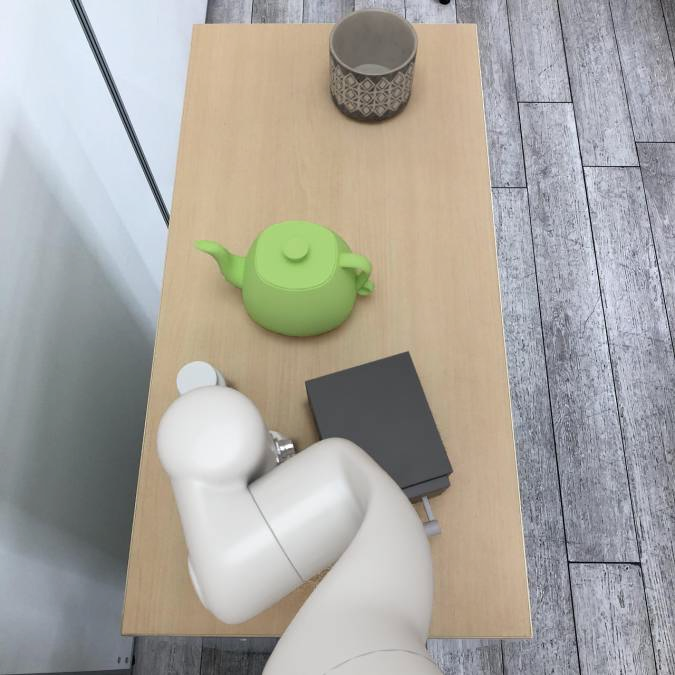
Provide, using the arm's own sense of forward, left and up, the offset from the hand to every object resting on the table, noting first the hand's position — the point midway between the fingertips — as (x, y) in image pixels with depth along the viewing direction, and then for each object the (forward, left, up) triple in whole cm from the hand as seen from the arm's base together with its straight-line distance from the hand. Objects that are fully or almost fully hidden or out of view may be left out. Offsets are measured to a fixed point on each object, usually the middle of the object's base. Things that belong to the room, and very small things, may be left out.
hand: (260, 493), depth 70 cm
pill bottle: (+14, +3, -7) cm, 16 cm away
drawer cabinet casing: (+3, -15, -7) cm, 16 cm away
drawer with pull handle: (-1, -15, -6) cm, 16 cm away
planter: (+56, -32, -7) cm, 64 cm away
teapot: (+26, -11, -7) cm, 29 cm away
